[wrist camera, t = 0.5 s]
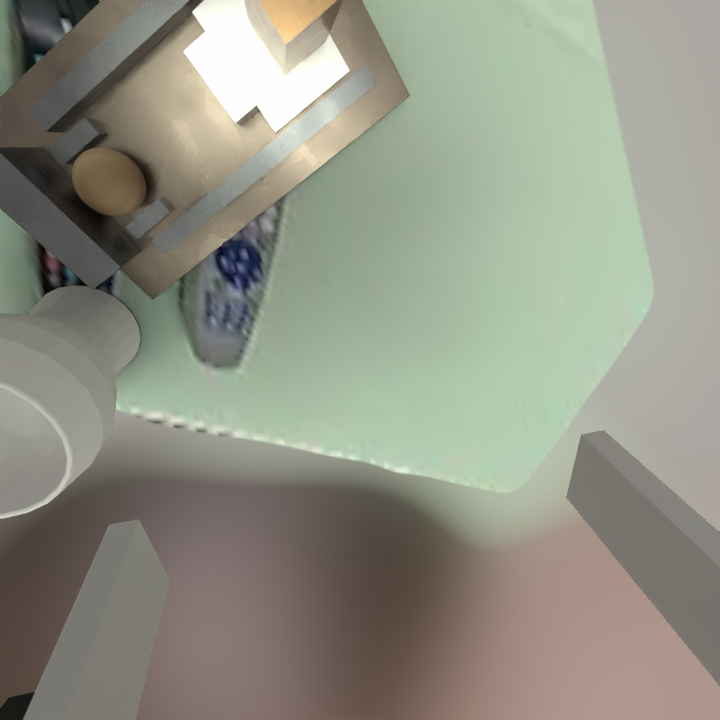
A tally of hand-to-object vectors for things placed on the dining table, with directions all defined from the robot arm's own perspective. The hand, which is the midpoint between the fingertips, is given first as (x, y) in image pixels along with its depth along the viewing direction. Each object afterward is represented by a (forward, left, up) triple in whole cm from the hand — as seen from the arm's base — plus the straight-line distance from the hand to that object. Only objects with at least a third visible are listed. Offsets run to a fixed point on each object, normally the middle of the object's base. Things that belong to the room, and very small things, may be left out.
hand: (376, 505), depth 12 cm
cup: (-7, -17, -25) cm, 32 cm away
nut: (-13, -6, -24) cm, 28 cm away
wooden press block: (-13, +6, -23) cm, 28 cm away
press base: (-13, +1, -25) cm, 28 cm away
